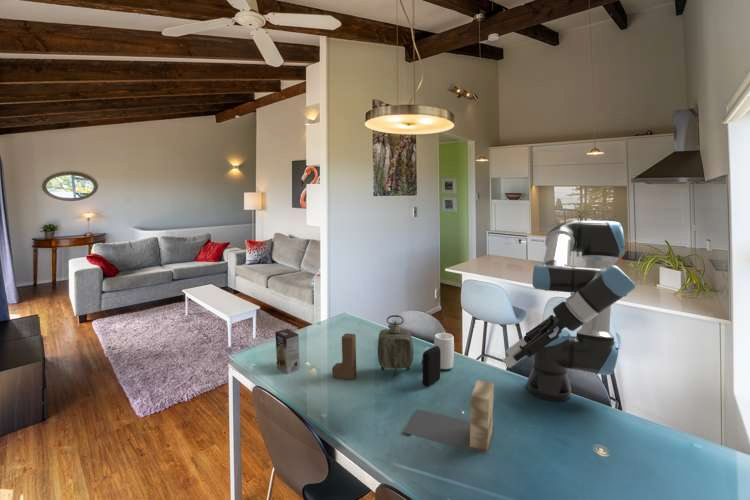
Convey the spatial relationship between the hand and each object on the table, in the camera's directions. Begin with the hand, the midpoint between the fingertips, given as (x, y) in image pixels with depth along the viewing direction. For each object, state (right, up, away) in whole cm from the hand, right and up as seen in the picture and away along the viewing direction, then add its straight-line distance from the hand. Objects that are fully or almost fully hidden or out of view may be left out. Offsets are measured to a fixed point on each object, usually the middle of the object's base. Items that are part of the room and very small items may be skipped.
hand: (507, 359), depth 112 cm
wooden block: (-51, -20, +46) cm, 72 cm away
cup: (-9, -19, +53) cm, 57 cm away
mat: (-15, -25, +10) cm, 31 cm away
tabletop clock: (-30, -20, +48) cm, 60 cm away
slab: (-6, -25, +5) cm, 27 cm away
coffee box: (-76, -20, +54) cm, 95 cm away
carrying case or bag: (-17, -21, +39) cm, 48 cm away
